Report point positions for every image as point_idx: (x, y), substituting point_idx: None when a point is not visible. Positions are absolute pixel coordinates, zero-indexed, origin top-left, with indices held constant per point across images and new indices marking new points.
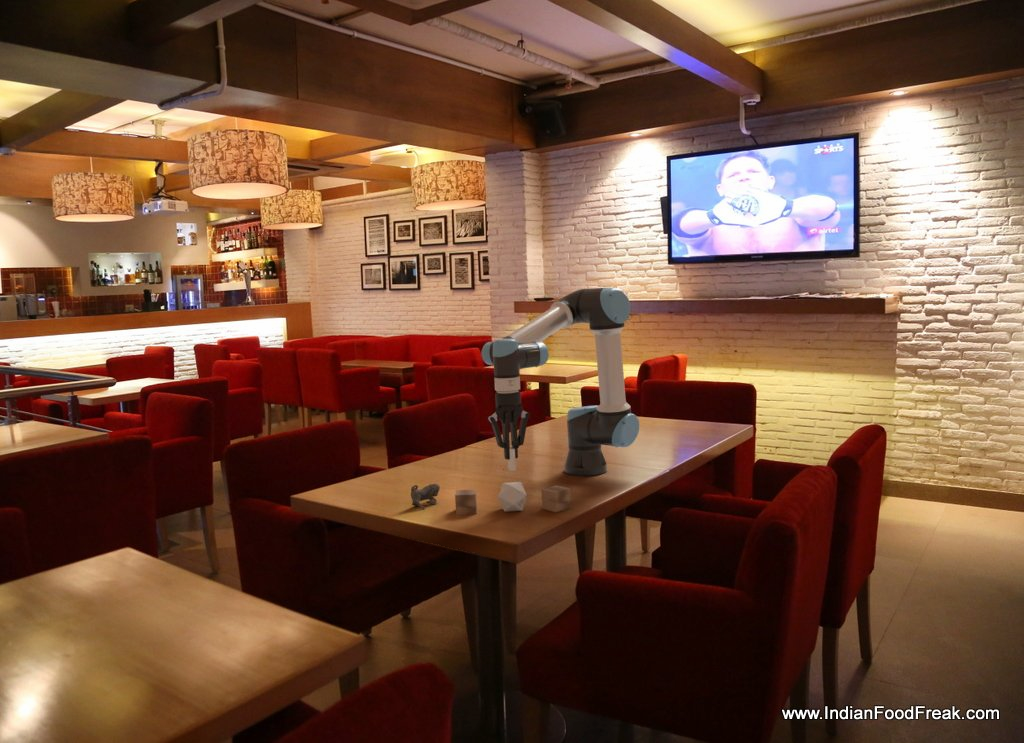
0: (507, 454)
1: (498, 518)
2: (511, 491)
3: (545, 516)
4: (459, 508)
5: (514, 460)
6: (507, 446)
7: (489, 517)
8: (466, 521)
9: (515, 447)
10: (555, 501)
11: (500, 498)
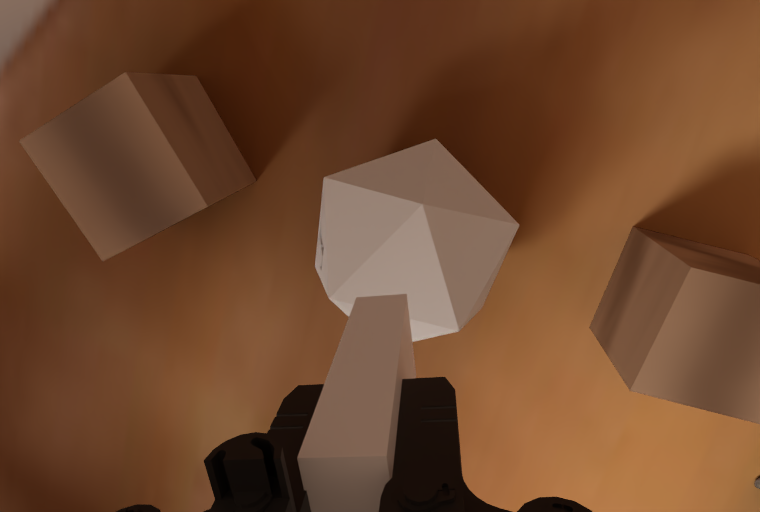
0: (430, 422)
1: (543, 83)
2: (432, 187)
3: (268, 13)
4: (751, 262)
5: (347, 349)
6: (430, 508)
7: (587, 126)
8: (750, 95)
9: (277, 450)
10: (163, 75)
11: (504, 211)
